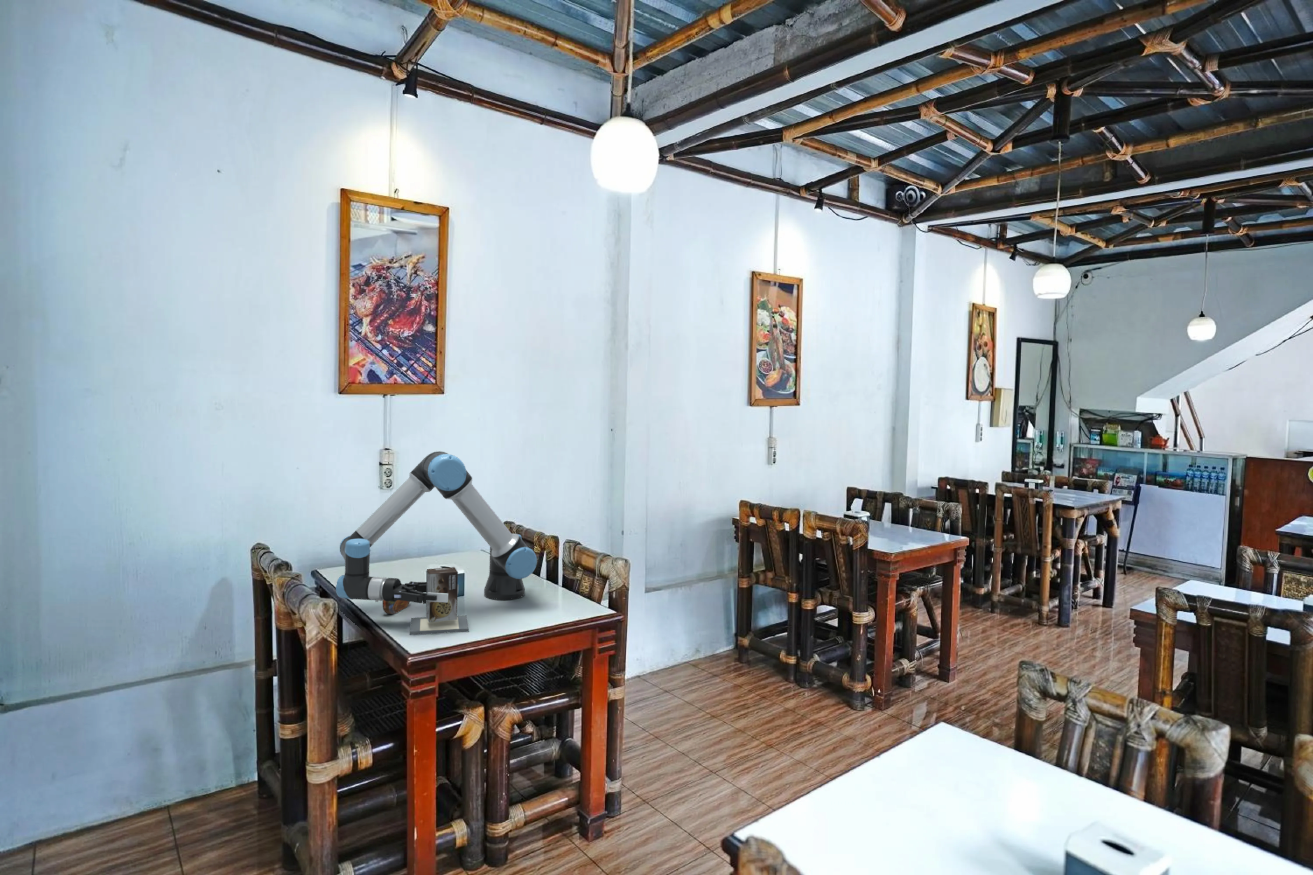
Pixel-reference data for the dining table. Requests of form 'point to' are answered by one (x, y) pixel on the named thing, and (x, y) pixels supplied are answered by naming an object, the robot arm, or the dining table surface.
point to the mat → (438, 625)
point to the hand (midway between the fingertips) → (452, 593)
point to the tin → (394, 606)
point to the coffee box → (442, 583)
